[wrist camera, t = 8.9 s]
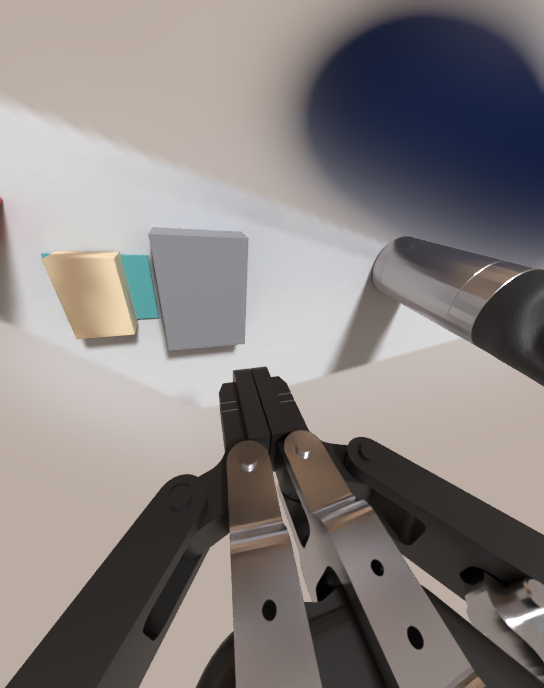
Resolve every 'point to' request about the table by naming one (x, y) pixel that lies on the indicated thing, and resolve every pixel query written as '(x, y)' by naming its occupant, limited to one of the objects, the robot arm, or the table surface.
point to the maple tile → (93, 292)
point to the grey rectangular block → (201, 286)
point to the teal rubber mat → (139, 285)
